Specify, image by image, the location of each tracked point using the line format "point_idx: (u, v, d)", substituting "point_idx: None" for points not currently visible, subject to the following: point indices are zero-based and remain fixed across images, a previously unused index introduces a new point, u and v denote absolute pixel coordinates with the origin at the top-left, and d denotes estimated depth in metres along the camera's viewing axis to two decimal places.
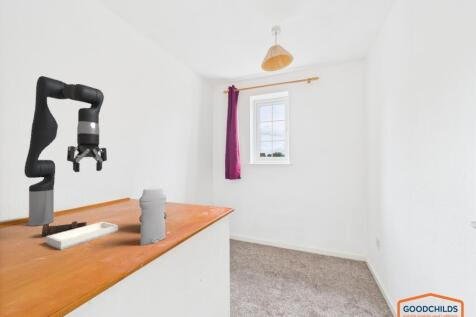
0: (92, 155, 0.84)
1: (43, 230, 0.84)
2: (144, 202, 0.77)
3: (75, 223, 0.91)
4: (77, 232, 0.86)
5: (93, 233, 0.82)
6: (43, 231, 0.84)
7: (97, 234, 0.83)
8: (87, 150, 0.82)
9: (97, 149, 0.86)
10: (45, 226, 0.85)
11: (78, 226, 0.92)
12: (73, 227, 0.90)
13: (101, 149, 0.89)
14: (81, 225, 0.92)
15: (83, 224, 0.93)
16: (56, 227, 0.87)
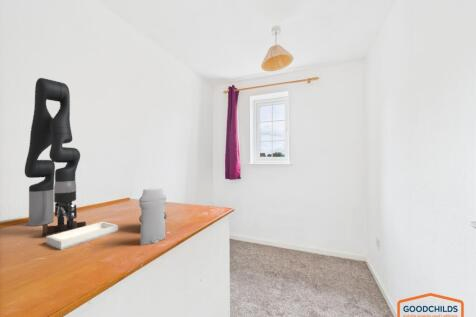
0: None
1: (43, 230, 0.84)
2: (144, 202, 0.77)
3: (75, 223, 0.92)
4: (77, 232, 0.86)
5: (93, 233, 0.82)
6: (43, 231, 0.84)
7: (97, 234, 0.83)
8: None
9: None
10: (45, 226, 0.85)
11: (78, 225, 0.92)
12: (73, 226, 0.91)
13: None
14: (81, 224, 0.93)
15: (83, 223, 0.94)
16: (56, 227, 0.87)
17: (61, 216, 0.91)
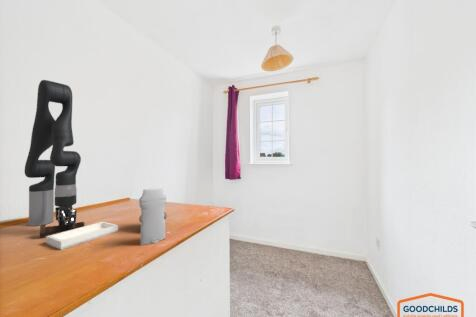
0: None
1: (41, 231, 0.83)
2: (144, 202, 0.77)
3: (73, 223, 0.91)
4: (77, 232, 0.86)
5: (93, 233, 0.82)
6: (41, 232, 0.82)
7: (97, 234, 0.83)
8: None
9: None
10: (43, 227, 0.84)
11: (76, 226, 0.91)
12: None
13: None
14: (79, 225, 0.92)
15: (81, 224, 0.93)
16: (54, 228, 0.86)
17: (62, 220, 0.91)
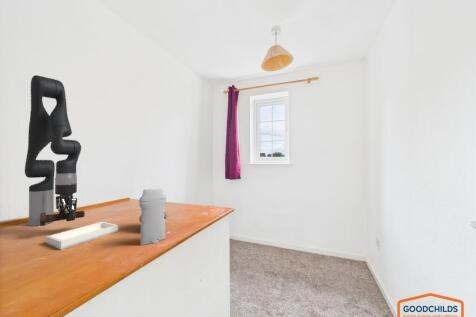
0: None
1: (41, 218, 0.82)
2: (144, 202, 0.77)
3: (74, 211, 0.91)
4: (77, 232, 0.86)
5: (93, 233, 0.82)
6: (42, 219, 0.82)
7: (97, 234, 0.83)
8: None
9: None
10: (43, 214, 0.83)
11: (77, 214, 0.92)
12: None
13: None
14: (80, 213, 0.92)
15: (81, 212, 0.93)
16: (54, 216, 0.86)
17: (63, 209, 0.91)
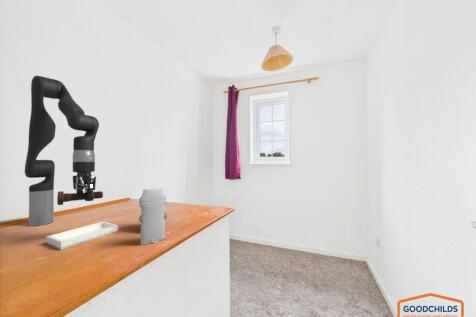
0: None
1: (59, 196, 0.77)
2: (144, 202, 0.77)
3: (92, 191, 0.85)
4: (77, 232, 0.86)
5: (93, 233, 0.82)
6: (60, 197, 0.77)
7: (97, 234, 0.83)
8: None
9: None
10: (61, 193, 0.78)
11: (95, 195, 0.86)
12: None
13: None
14: (98, 194, 0.87)
15: (100, 193, 0.88)
16: (72, 195, 0.81)
17: (80, 189, 0.86)
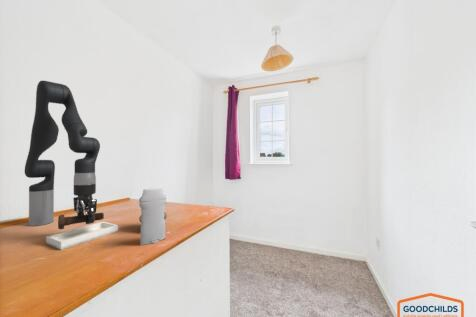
0: None
1: (60, 221, 0.77)
2: (144, 202, 0.77)
3: None
4: (77, 232, 0.86)
5: (93, 233, 0.82)
6: (61, 222, 0.77)
7: (97, 234, 0.83)
8: None
9: None
10: (62, 217, 0.78)
11: (96, 217, 0.86)
12: None
13: None
14: (99, 215, 0.87)
15: (101, 214, 0.87)
16: (73, 218, 0.81)
17: (81, 211, 0.86)
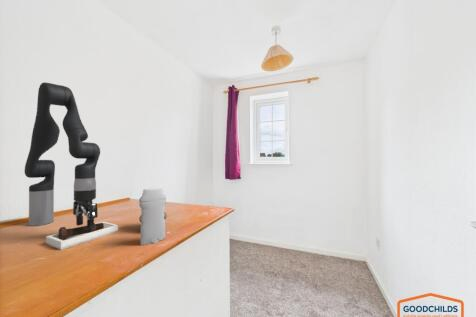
0: None
1: (62, 233, 0.77)
2: (144, 202, 0.77)
3: None
4: None
5: (93, 233, 0.82)
6: (63, 234, 0.77)
7: (97, 234, 0.83)
8: None
9: None
10: (64, 229, 0.78)
11: (96, 227, 0.87)
12: (92, 228, 0.85)
13: None
14: (99, 226, 0.88)
15: (101, 225, 0.89)
16: (75, 230, 0.81)
17: (80, 215, 0.86)
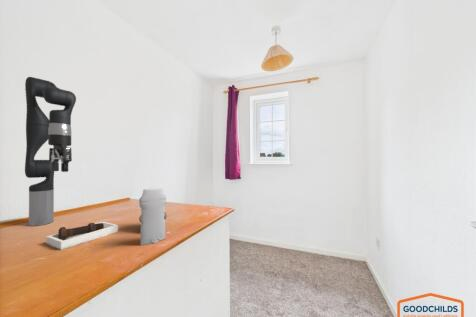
0: None
1: (62, 233, 0.77)
2: (144, 202, 0.77)
3: (93, 224, 0.86)
4: None
5: (93, 233, 0.82)
6: (63, 235, 0.77)
7: (97, 234, 0.83)
8: None
9: None
10: (64, 229, 0.78)
11: (96, 227, 0.87)
12: (92, 228, 0.85)
13: None
14: (99, 226, 0.88)
15: (101, 225, 0.88)
16: (74, 230, 0.81)
17: (55, 161, 0.88)
